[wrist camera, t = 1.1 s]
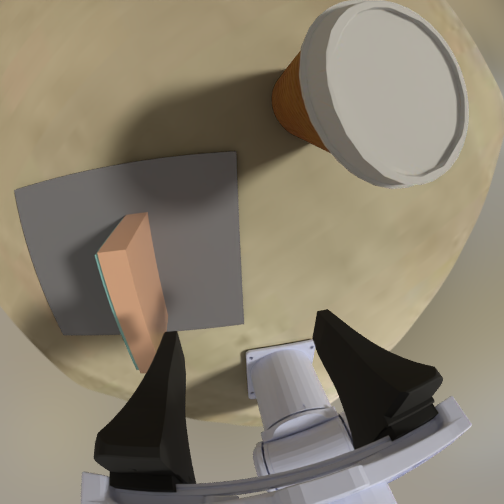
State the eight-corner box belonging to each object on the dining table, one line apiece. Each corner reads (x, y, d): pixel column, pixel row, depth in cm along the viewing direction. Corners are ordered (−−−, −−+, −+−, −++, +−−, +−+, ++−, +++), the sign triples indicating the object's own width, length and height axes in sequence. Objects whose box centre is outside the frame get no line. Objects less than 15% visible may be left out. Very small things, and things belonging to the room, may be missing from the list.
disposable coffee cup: (277, 176, 21) (357, 229, 10) (231, 67, 17) (270, -3, 6) (373, 139, 21) (483, 164, 10) (337, 40, 16) (438, 0, 6)
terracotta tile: (168, 315, 24) (163, 372, 18) (147, 317, 24) (137, 373, 18) (147, 212, 20) (125, 249, 14) (122, 215, 19) (92, 253, 13)
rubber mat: (243, 321, 26) (244, 324, 26) (64, 332, 23) (63, 335, 23) (235, 151, 19) (236, 151, 19) (16, 189, 16) (14, 190, 16)
